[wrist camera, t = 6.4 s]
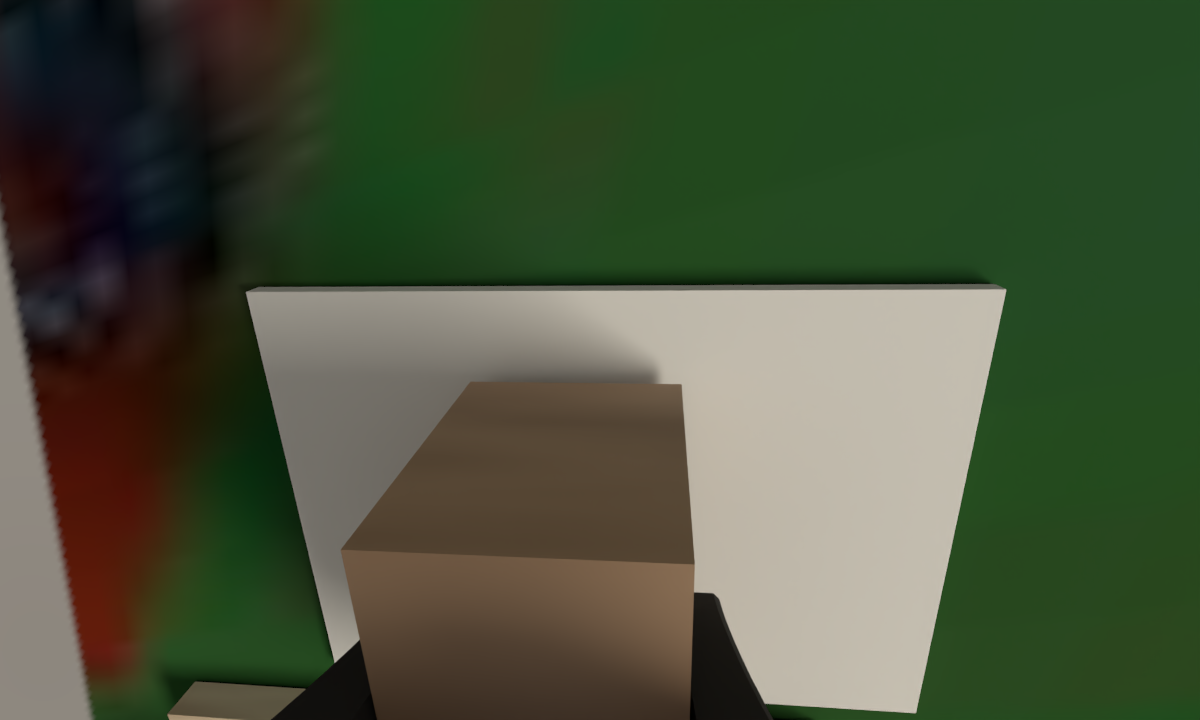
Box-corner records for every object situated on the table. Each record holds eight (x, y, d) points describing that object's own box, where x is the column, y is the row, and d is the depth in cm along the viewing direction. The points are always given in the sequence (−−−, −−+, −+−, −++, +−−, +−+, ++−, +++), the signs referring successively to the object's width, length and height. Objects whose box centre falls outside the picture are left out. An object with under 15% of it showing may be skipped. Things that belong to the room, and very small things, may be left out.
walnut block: (674, 703, 14) (680, 989, 9) (505, 692, 14) (429, 962, 10) (681, 384, 11) (694, 564, 6) (470, 381, 12) (340, 550, 7)
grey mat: (909, 697, 14) (915, 712, 14) (345, 663, 16) (337, 676, 15) (994, 284, 11) (1007, 289, 10) (258, 287, 12) (245, 291, 12)
